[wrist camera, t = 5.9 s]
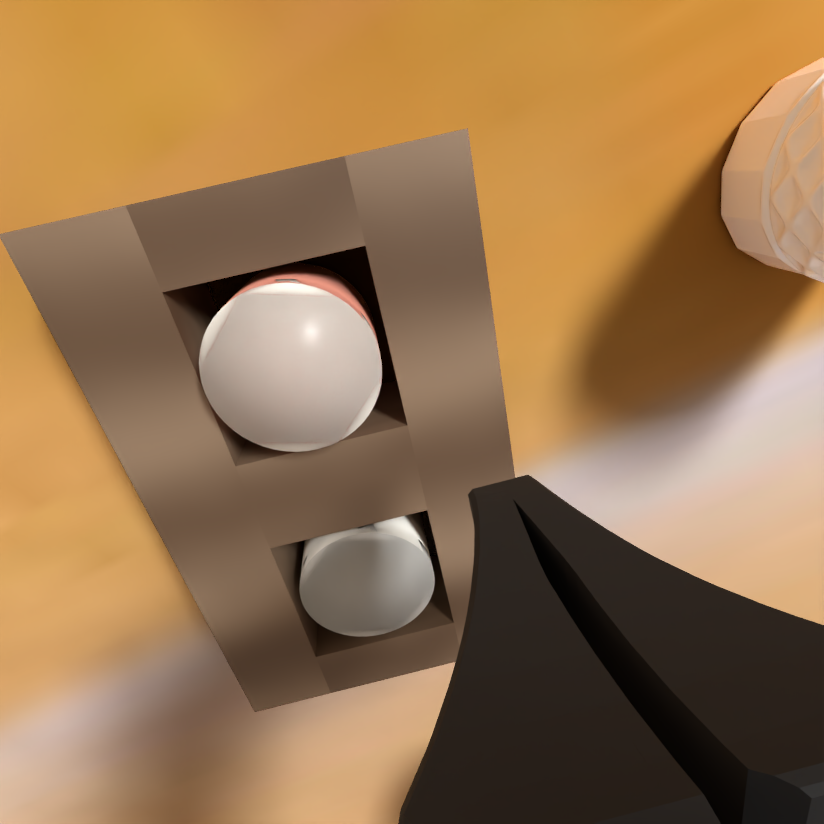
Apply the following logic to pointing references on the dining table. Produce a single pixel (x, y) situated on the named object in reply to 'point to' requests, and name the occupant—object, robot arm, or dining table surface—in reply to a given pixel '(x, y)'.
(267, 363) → the plunger
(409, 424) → the housing
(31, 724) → the dining table surface
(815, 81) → the white cup
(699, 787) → the robot arm
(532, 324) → the dining table surface
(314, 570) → the white domed canister
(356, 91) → the dining table surface
